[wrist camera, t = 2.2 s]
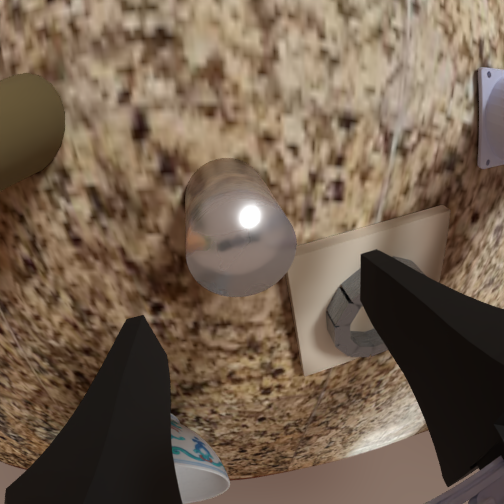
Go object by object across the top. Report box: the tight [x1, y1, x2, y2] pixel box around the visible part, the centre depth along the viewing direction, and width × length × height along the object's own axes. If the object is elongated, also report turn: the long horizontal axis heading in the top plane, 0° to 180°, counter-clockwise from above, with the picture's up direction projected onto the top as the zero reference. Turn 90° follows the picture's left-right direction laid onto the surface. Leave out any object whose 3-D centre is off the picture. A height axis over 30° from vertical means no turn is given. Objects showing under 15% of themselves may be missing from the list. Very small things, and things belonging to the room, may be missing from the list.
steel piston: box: [185, 158, 297, 297], centre depth 16 cm, size 4×4×6 cm
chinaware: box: [171, 414, 230, 504], centre depth 26 cm, size 15×15×8 cm
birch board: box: [285, 205, 451, 376], centre depth 24 cm, size 13×13×1 cm
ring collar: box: [326, 256, 426, 357], centre depth 23 cm, size 8×8×2 cm
